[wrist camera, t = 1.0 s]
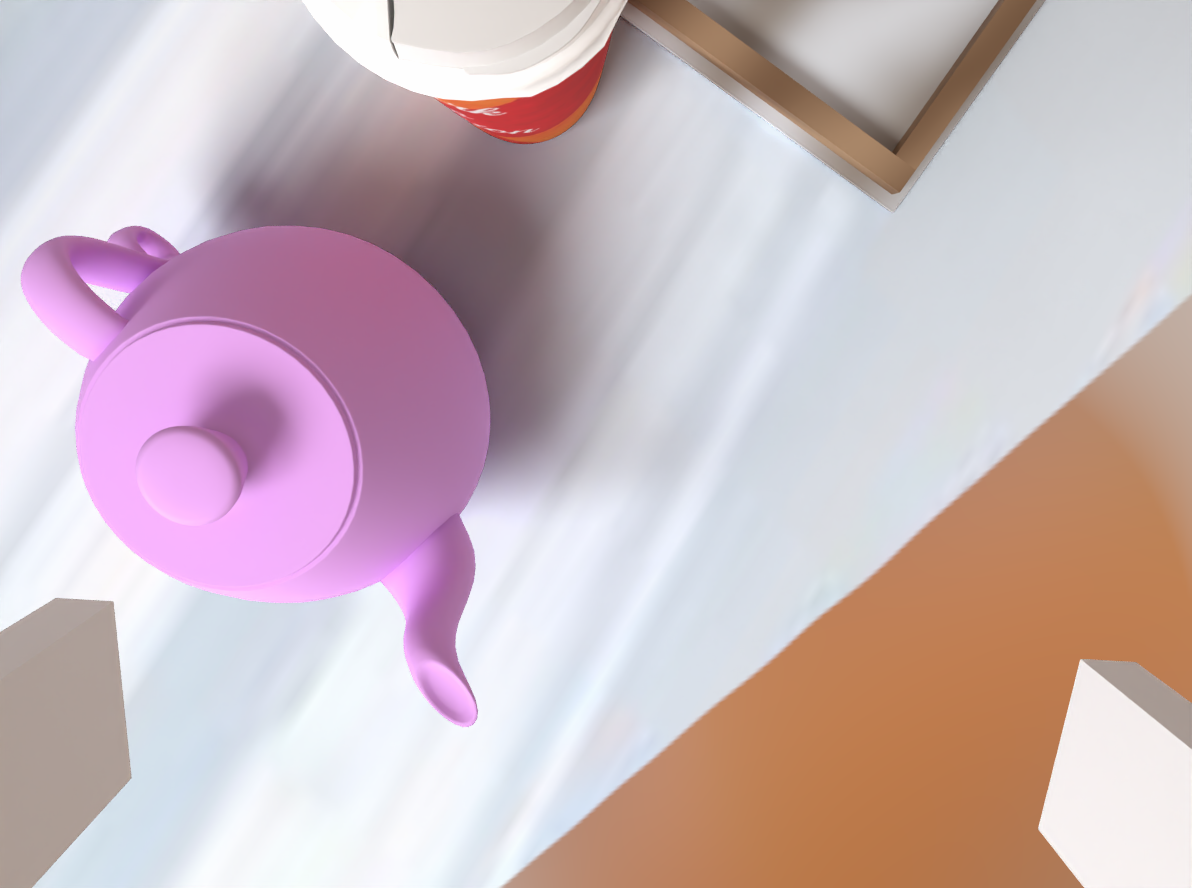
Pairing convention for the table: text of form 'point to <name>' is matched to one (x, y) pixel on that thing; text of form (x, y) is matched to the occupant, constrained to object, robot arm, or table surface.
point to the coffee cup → (483, 55)
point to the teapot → (279, 421)
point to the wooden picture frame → (846, 71)
